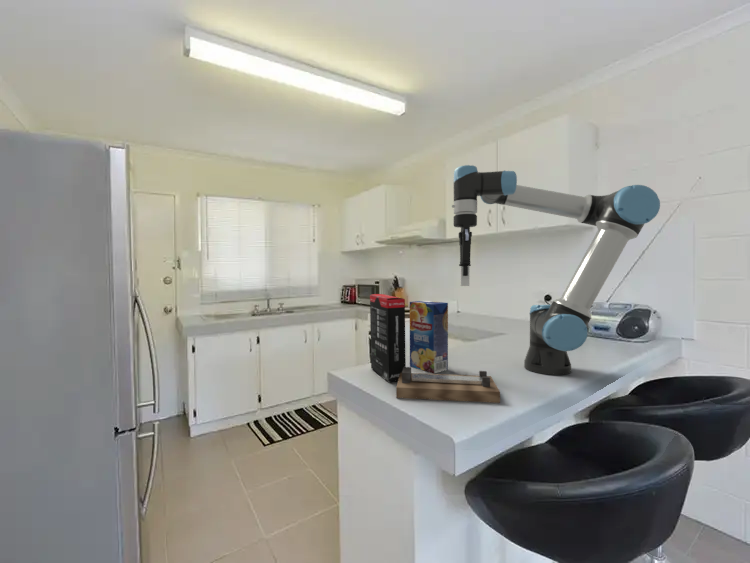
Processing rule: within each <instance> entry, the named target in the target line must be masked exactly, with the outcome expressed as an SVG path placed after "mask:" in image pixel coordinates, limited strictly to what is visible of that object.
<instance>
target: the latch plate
mask: <svg viewBox="0 0 750 563" xmlns="http://www.w3.org/2000/svg"><path fill="white" fill-rule="evenodd" d="M478 373H479V375H471V374H468V375H467V374H451V375H452V376H473V377H482V385H480V384H460V383H441V382H421V381H412V374H423V372H422V373H417V372H416V373H415V372H413V373H412V367H410V366H406V367H403V371H402V373H400V375H399V379H398V381H397V384H396V388H395V391H396V394H395V395H396V396H395V397H396V399H413V400H417V399H418V400H430V401H431V400H432V401H433V400H434V401H451V402H452V401H453V402H455V401H456V402H471V403H472V402H476V403H495V404H496V403H497V404H500V403H501V391H500V389H499V387H498V385H497V383H495V381H494V379H493V377H492V376H491V375H488V374H487V373H488V372H487V371H486V370H479V372H478ZM431 374H432V375H450V374H445V373H444V374H443V373H441V374H440V373H434V374H433V373H431Z"/></svg>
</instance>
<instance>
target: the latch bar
mask: <svg viewBox="0 0 750 563" xmlns="http://www.w3.org/2000/svg"><path fill="white" fill-rule="evenodd" d="M432 374H433V373H422V374H412V381H421V382H441V383H460V384H480V385H482V377H473V376H452V375H453V374H449V375H432Z"/></svg>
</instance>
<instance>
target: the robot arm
mask: <svg viewBox="0 0 750 563" xmlns="http://www.w3.org/2000/svg"><path fill="white" fill-rule="evenodd" d="M517 178H518V176H517V173H516V171H514V170H500V171H499V170H498V171H484V172H483V171H481V172H480V171H478V168H477V166H476V165H473V164H472V165H469V164H465V165H461V166H457V167H456V168H455V169H454V171H453V204H451V208H452V209H453V214H454V216H453V226H454V228H460V231H459V232H458V239H459V240H458V241H459V242H458V244H459V264H458V266H459V267H460V286H461V287H470V267H471V265H472V264H471V250H472V249H471V247H472V246H471V245H472V236H473V232H472V231H471V228H473V227H476V226H478V215H477V213H478V197H480V199H481V201H482V202H483V203H484V204H486V205H494V204H497V205H503V206H508V207H514V208H519V209H522V210H523V209H524V210H529V211H534V212H538V213H539V212H540V213H544V214H550V215H554V216H560V217H566V218H570V219H575V220H577V222H578V223H581V224H586V225H589V226H594V227H596V228H597V231H596V233H595V235H594V237H593V238H592V240H591V243H590V244H589V246H588V248H587V250H586V252H585V253H584V254H583V257H582V258H581V260H580V262H579V265H578V266H577V268H576V270H575V271H574V274H573V275H572V277H571V279H570V281H569V282H568V284H567V286H566V288H565V290H564V292H563V293H562V295H561V296H560V298H558V299H554V300H553V301H552V303H551V304H533V305H532V306H530V310H529V346H528V350H527V352H526V356H525V358H524V361H523V362H524V364H523V365H524V366H523V367H524V368H525V369H526V370H528V371H530V372H533V373H538V374H542V375H549V376H551V375H553V376H562V375H568V374H571V373H572V362H571V360H570V358H569V354H568V352H571V351H574V350H577V349H579V348H581V347H582V346H583V345H584V344H585V342H586V340H587V338H588V325H589V323H590V321H591V319H592V315H591V313H590V310H591V308H592V306H593V304H594V302H595V301H596V299H597V297H598V295H599V293H600V291H601V290H602V289H603V286H604V285H605V282H606V281H607V279H608V278H609V276H610V274H611V272H612V271H613V269H614V267H615V265H616V263H617V261H618V260H619V258H620V256H621V254H622V253H623V251H624V250H625V247H626V245H627V244H628V242H629V241H630V240H633V239H635V238H638V236H639V234H640V232H641V231H642V229H643V227H644V226H645V225H646V224H647V223H649V222H651V221H653V219H655V217H657V215H658V214H659V212H660V207H661V201H660V198H659V196H658V194H657V193H656V192H655V190H653V189H652V188H651V187H650V186H646V185H643V184H633V185H627V186H624V187H622V188H620V189H619V190H617V191H615V192H612V193H610V194H605V195H593V194H587V195H586V196H580V195H575V194H570V193H563V192H557V191H552V190H548V189H541V188H536V187H530V186H526V185H520V184H518V183H517V181H518V179H517Z"/></svg>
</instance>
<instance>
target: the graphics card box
mask: <svg viewBox="0 0 750 563" xmlns="http://www.w3.org/2000/svg"><path fill="white" fill-rule="evenodd" d="M369 317H370V318H369V319H370V321H369V322H370V363H371V364H370V367H371V369H372V370H373V371H374V372H375V373H377V374H378V375H379V376H380V377H382V378H383V379H384V380H385V381H386V382H388V383H394V382H398V379H399V375H400V373H402V371H403V367H407V365H406V362H407V361H406V300H405V298H402V297H398V296H394V295H393V296H392V295H388V294H386V293H385V294H382V293H374V294H373V293H372V294H369Z"/></svg>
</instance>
